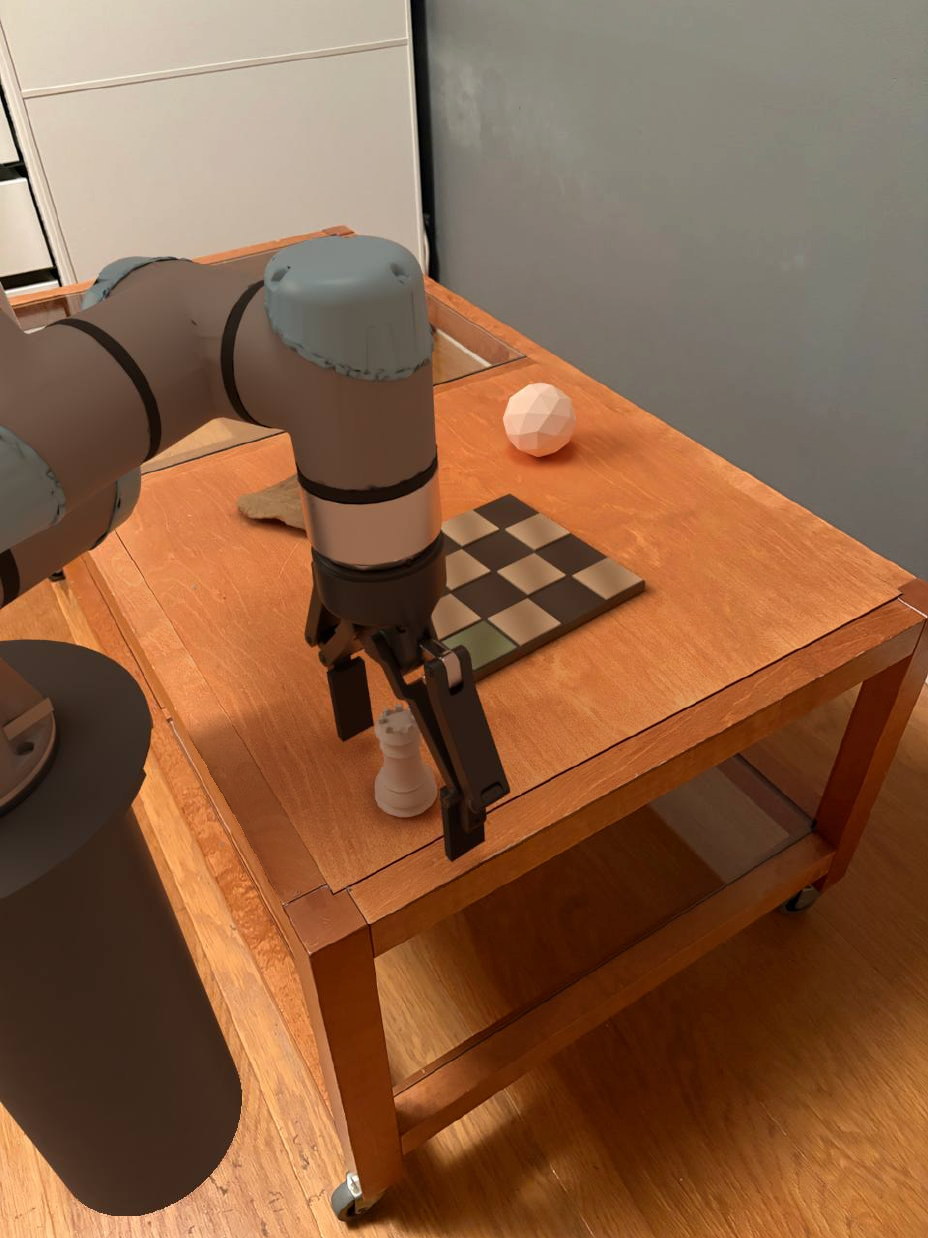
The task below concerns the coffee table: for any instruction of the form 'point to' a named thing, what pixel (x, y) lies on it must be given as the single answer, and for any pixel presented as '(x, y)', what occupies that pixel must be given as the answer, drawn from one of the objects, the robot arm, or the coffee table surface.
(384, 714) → the rook chess piece
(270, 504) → the pottery shard
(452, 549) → the game board
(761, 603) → the coffee table surface
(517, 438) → the geometric ball
